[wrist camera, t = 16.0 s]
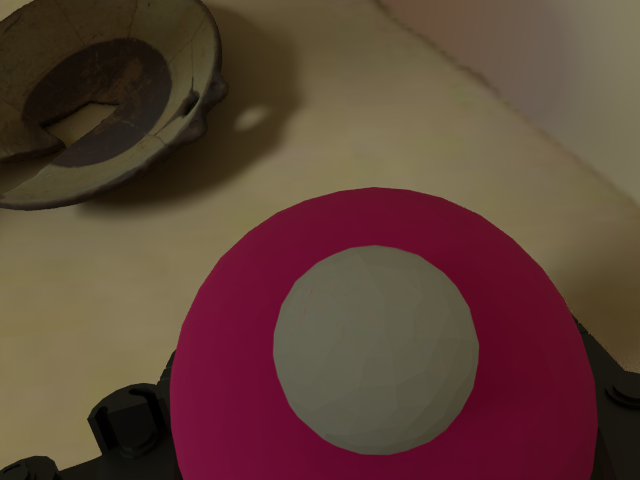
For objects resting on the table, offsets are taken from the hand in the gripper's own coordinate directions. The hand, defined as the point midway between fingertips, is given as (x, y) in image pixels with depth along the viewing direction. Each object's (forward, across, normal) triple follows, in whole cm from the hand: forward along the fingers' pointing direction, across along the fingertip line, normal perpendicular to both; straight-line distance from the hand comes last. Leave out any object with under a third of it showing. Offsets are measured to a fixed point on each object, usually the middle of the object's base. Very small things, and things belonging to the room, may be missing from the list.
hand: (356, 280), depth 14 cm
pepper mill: (+4, 0, +9) cm, 10 cm away
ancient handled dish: (+29, +21, -6) cm, 36 cm away
